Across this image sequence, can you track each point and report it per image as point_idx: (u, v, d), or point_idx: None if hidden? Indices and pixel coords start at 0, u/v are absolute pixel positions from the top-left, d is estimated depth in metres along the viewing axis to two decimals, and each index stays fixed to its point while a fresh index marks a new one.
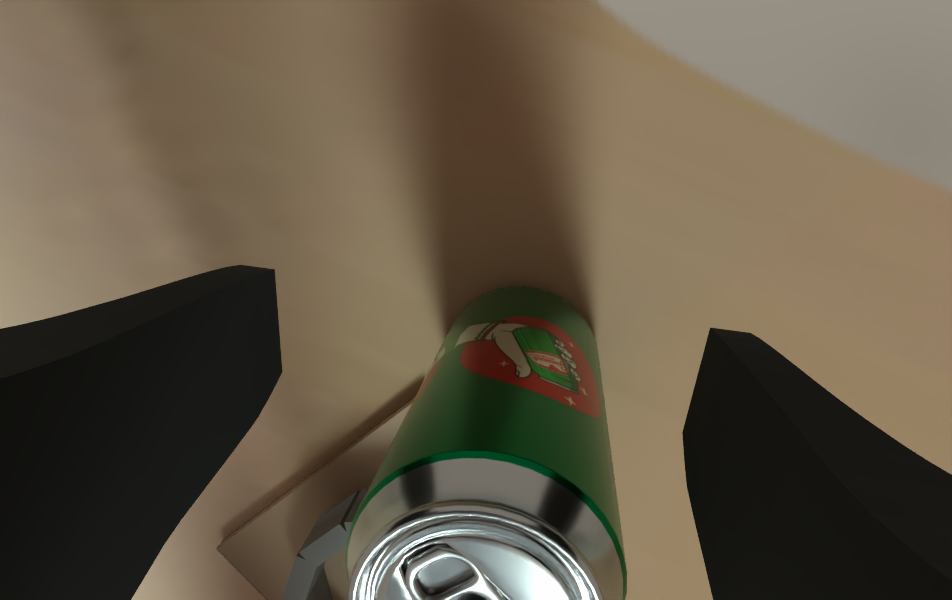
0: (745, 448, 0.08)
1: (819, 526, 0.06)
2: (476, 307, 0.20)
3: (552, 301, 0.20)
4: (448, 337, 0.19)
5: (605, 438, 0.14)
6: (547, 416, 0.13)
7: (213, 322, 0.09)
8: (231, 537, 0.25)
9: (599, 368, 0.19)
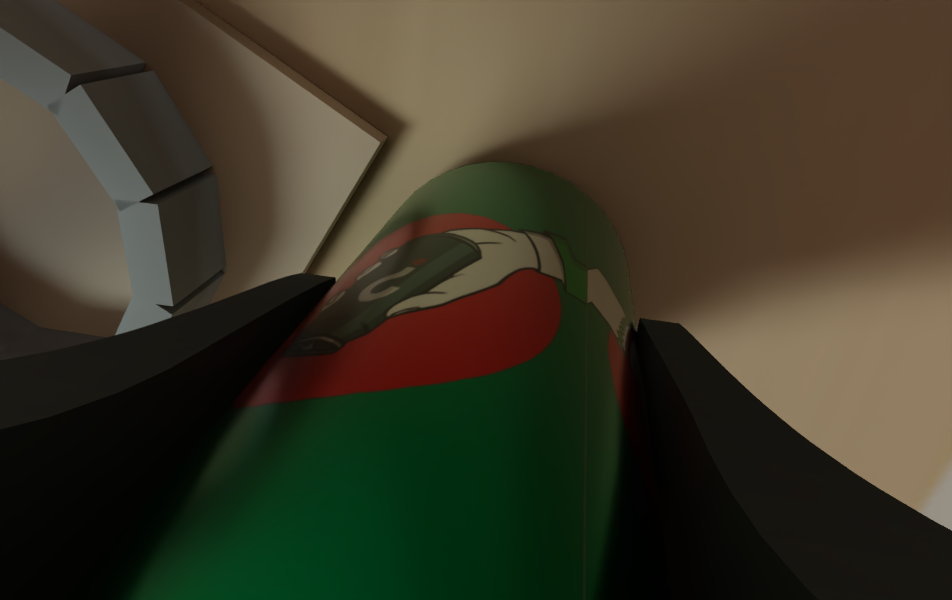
0: (657, 435, 0.08)
1: (699, 506, 0.06)
2: (594, 224, 0.11)
3: None
4: (548, 217, 0.10)
5: None
6: None
7: (284, 332, 0.09)
8: None
9: None
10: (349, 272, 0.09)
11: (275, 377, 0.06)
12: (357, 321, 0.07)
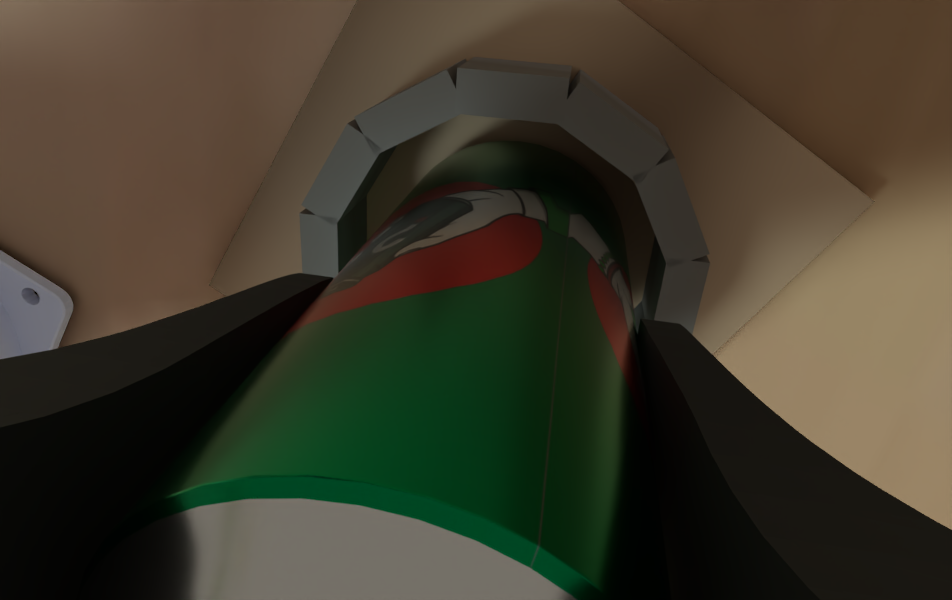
0: (658, 435, 0.08)
1: (701, 507, 0.06)
2: (580, 182, 0.12)
3: None
4: (535, 177, 0.11)
5: None
6: None
7: (281, 331, 0.09)
8: None
9: None
10: (366, 242, 0.10)
11: (310, 311, 0.07)
12: (371, 264, 0.08)
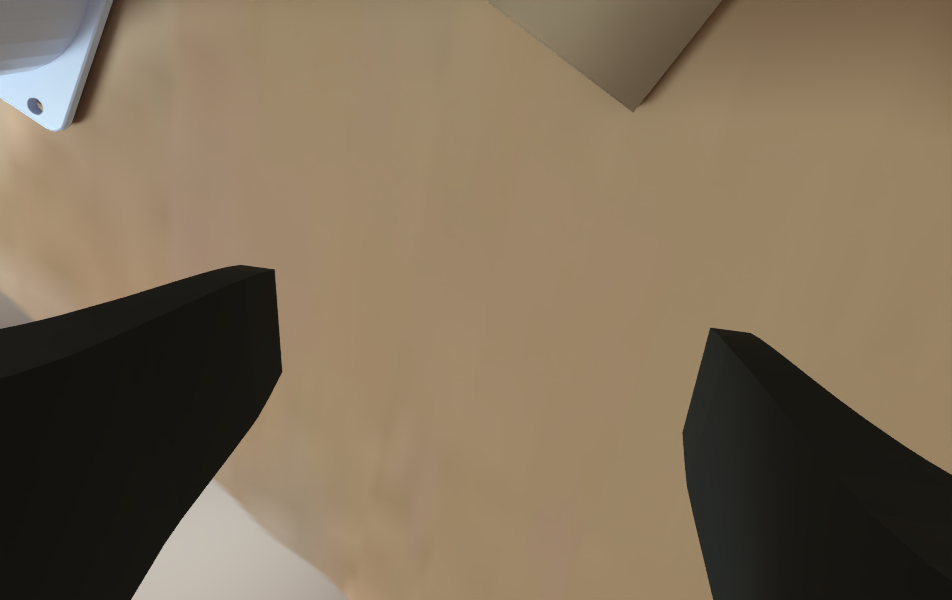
0: (745, 448, 0.08)
1: (819, 526, 0.06)
2: None
3: None
4: None
5: None
6: None
7: (213, 322, 0.09)
8: None
9: None
10: None
11: None
12: None
